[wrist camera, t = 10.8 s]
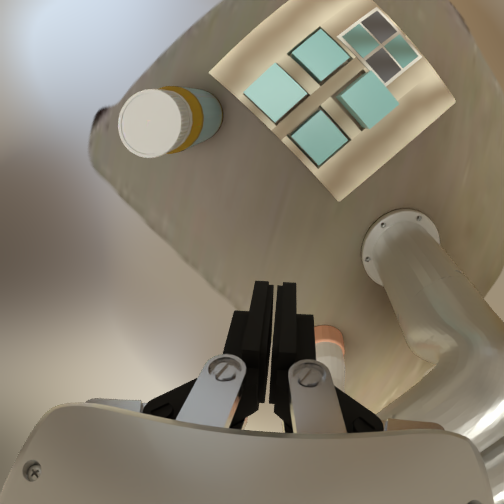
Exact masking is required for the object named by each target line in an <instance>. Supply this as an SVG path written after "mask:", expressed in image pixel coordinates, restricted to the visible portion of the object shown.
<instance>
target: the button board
mask: <svg viewBox="0 0 504 504" xmlns="http://www.w3.org/2000/svg"><path fill="white" fill-rule="evenodd" d="M320 29H321V30H323V31H324V32H325V33H326V34H327V35H328V36H329V37H330V38H331V39H332V40H333V41H334V42H335V43H336V44H337V45H338V46H339V47H340V48H341V49H342V50H343V51H344V52H345V53H346V54H347V55H348V56H349V57H350V58H349V59H347V60H346V61H345V62H344V63H342V64H341V65H340V66H339V67H338V68H336V69H335V70H334V71H333V72H332V73H330V74H329V75H328V76H327V77H326V78H324V79H323V80H322V81H321V82H320V83H317V82H316V81H315V80H314V79H313V78H312V77H311V76H310V75H309V74H308V73H307V72H306V71H305V70H304V69H303V68H302V67H301V66H300V65H299V64H298V63H297V62H296V61H295V60H293V59H292V58H291V55H292V52H293V51H294V50H295V49H297V48H298V47H299V46H300V45H301V44H303V43H304V42H305V41H306V40H307V39H309V38H310V37H311V36H312V35H314V34H315V33H316V32H317V31H319V30H320ZM274 63H276V64H277V65H278V66H279V67H280V68H282V69H283V70H284V71H285V72H286V73H287V74H288V75H289V76H290V77H291V78H292V79H293V80H294V81H295V82H296V83H297V84H298V85H299V86H300V87H301V88H302V89H303V90H304V91H305V92H306V93H307V94H306V95H305V96H304V97H303V98H302V99H301V100H299V101H298V102H297V103H296V104H295V105H294V106H293V107H292V108H291V109H289V110H288V111H287V112H286V113H285V114H284V115H283V116H282V117H281V118H280V119H279V120H277V121H276V122H274V121H273V120H272V119H271V118H270V117H269V116H268V115H267V114H266V113H265V112H264V111H262V110H261V109H260V108H259V107H258V106H257V105H256V104H255V103H254V102H253V101H252V100H251V99H250V98H249V97H248V96H246V95H245V94H244V93H243V92H244V91H245V90H246V89H247V88H248V87H249V86H250V85H251V84H252V83H253V82H254V81H255V80H257V79H258V78H259V77H260V76H261V75H262V74H263V73H264V72H265V71H266V70H267V69H268V68H270V67H271V66H272V65H273V64H274ZM371 70H372V72H373V73H374V74H375V75H376V76H377V77H378V78H379V79H380V81H381V82H382V83H383V84H384V85H385V87H386V88H387V89H388V90H389V91H390V93H391V94H392V95H393V96H394V98H395V99H396V100H397V101H398V103H399V105H398V106H397V107H395V108H394V109H393V110H392V111H391V112H390V113H388V114H387V115H386V116H385V117H384V118H382V119H381V120H380V121H379V122H378V123H377V124H375V125H374V126H373V127H372V128H371V129H367V128H364V127H362V126H361V125H360V124H359V123H358V122H357V120H356V119H355V118H354V117H353V116H352V115H351V113H350V112H349V111H348V110H347V109H346V108H345V107H344V106H343V105H342V103H341V102H340V101H339V100H338V99H337V98H336V96H337V95H338V94H340V93H341V92H342V91H343V90H344V89H345V88H347V87H348V86H349V85H350V84H351V83H353V82H354V81H355V80H356V79H357V78H359V77H360V76H361V75H362V74H363V73H366V72H368V71H371ZM209 74H211V75H212V76H213V77H214V78H215V79H216V80H218V81H219V82H220V83H221V84H222V85H223V86H224V87H226V88H227V89H228V90H229V91H230V92H231V93H232V94H233V95H234V96H236V97H237V98H238V99H239V100H240V101H241V102H242V103H243V104H244V105H245V106H246V107H247V108H249V109H250V110H251V111H252V112H253V113H254V114H255V115H256V116H257V117H258V118H259V119H260V120H261V121H262V122H263V123H264V124H265V125H266V126H267V127H268V128H269V129H270V130H271V131H272V132H273V133H274V134H275V135H276V136H277V137H278V138H279V139H280V140H281V141H282V142H283V143H284V144H285V145H286V146H287V147H288V148H289V149H290V150H291V151H292V152H293V153H294V154H295V155H296V156H297V157H298V158H299V159H300V160H301V161H302V162H303V163H304V164H305V165H306V166H307V168H308V169H309V170H310V171H311V172H312V173H313V174H314V175H315V176H316V177H317V178H318V179H319V181H320V182H321V183H322V184H323V185H324V186H325V187H326V188H327V189H328V191H329V192H330V193H331V194H332V195H333V196H334V197H335V198H336V200H337V201H338V202H340V201H341V200H342V199H343V198H345V197H346V196H347V195H348V194H349V193H351V192H352V191H353V190H354V189H355V188H356V187H358V186H359V185H360V184H361V183H362V182H364V181H365V180H366V179H367V178H368V177H370V176H371V175H372V174H373V173H374V172H375V171H377V170H378V169H379V168H380V167H381V166H382V165H384V164H385V163H386V162H387V161H388V160H390V159H391V158H392V157H393V156H394V155H395V154H397V153H398V152H399V151H400V150H401V149H402V148H404V147H405V146H406V145H407V144H408V143H409V142H411V141H412V140H413V139H414V138H415V137H416V136H417V135H419V134H420V133H421V132H422V131H423V130H424V129H426V128H427V127H428V126H429V125H430V124H431V123H432V122H434V121H435V120H436V119H437V118H438V117H439V116H441V115H442V114H443V113H444V112H445V111H446V110H447V109H448V108H450V107H451V106H452V105H453V104H454V103H455V102H456V100H455V99H454V97H453V96H452V94H451V93H450V91H449V90H448V88H447V87H446V85H445V84H444V83H443V81H442V80H441V78H440V77H439V76H438V74H437V73H436V72H435V70H434V69H433V68H432V66H431V65H430V64H429V62H428V61H427V60H426V58H425V57H424V56H423V55H422V53H421V52H420V51H419V50H418V49H417V47H416V46H415V45H414V44H413V43H412V41H411V40H410V39H409V38H408V37H407V36H406V35H405V33H404V32H403V31H402V30H401V29H400V28H399V27H398V26H397V25H396V24H395V23H394V21H393V20H392V19H391V18H390V17H389V16H388V15H387V14H386V13H385V12H384V11H383V10H382V9H381V8H380V7H379V6H378V5H377V4H376V3H375V2H374V1H373V0H289V1H288V2H286V3H285V4H284V5H282V6H281V7H280V8H279V9H277V10H276V11H275V12H274V13H273V14H271V15H270V16H269V17H268V18H267V19H265V20H264V21H263V22H262V23H261V24H259V25H258V26H257V27H256V28H255V29H254V30H253V31H251V32H250V33H249V34H248V35H247V36H246V37H245V38H244V39H243V40H242V41H240V42H239V43H238V44H237V45H236V46H235V47H234V48H233V49H232V50H231V51H230V52H229V53H228V54H227V55H226V56H225V57H224V58H223V59H222V60H221V61H220V62H219V63H218V64H217V65H216V66H215V67H214V68H213V69H212V70H211V71H210V72H209ZM317 110H321V111H322V112H323V113H324V114H325V115H326V116H327V117H328V118H329V119H330V120H331V122H332V123H333V124H334V125H335V126H336V127H337V128H338V129H339V130H340V131H341V133H342V134H343V135H344V136H345V137H346V138H347V139H348V141H347V142H345V143H344V144H343V145H342V146H341V147H340V148H339V149H337V150H336V151H335V152H334V153H333V154H332V155H330V156H329V157H328V158H327V159H326V160H325V161H324V162H322V163H321V164H320V165H318V164H317V163H316V162H315V161H314V160H313V159H312V158H311V157H310V156H309V154H308V153H307V152H306V151H305V150H304V149H303V148H302V147H301V146H300V145H299V144H298V143H297V142H296V141H295V140H294V139H293V138H292V137H291V133H292V132H294V131H295V130H296V129H297V128H298V127H299V126H300V125H301V124H302V123H304V122H305V121H306V120H307V119H308V118H309V117H310V116H311V115H313V114H314V113H315V112H316V111H317Z"/></svg>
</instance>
